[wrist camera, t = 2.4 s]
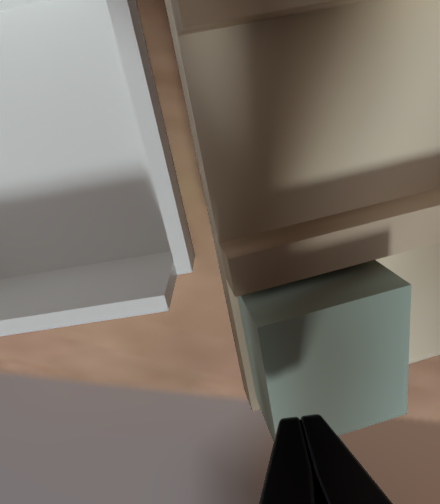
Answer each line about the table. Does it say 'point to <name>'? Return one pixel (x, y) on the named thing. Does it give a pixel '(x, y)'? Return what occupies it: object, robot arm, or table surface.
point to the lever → (320, 193)
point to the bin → (83, 169)
